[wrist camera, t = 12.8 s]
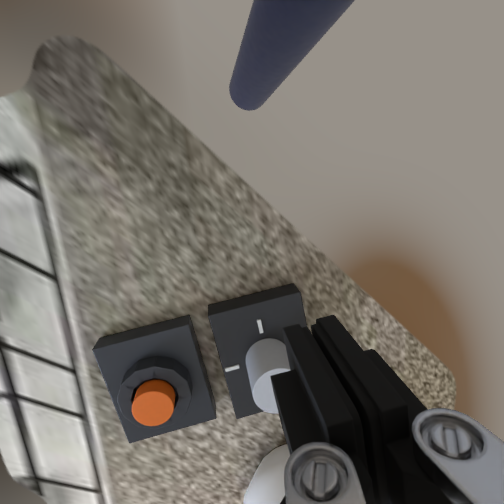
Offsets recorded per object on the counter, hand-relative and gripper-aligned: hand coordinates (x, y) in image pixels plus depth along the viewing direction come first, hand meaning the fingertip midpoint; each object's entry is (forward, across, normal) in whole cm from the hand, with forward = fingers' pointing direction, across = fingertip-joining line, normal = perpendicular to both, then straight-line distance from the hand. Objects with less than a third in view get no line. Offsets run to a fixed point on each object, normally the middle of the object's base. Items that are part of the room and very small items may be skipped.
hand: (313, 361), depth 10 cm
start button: (+18, +12, +13) cm, 25 cm away
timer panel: (+22, +1, +13) cm, 25 cm away
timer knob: (+19, +1, +13) cm, 23 cm away
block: (+21, +12, +13) cm, 28 cm away
